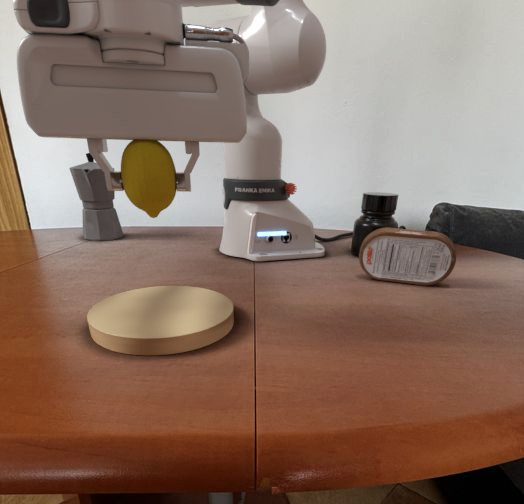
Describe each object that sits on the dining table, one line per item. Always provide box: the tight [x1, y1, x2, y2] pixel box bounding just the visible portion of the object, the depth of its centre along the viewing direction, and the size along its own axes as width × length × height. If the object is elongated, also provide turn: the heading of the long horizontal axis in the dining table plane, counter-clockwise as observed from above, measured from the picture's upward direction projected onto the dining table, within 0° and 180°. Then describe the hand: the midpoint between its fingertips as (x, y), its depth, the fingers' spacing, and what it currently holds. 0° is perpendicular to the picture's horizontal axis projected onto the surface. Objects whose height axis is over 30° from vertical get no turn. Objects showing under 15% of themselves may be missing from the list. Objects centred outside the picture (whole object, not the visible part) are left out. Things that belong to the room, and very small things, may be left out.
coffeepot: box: [69, 152, 125, 242], centre depth 88 cm, size 15×9×18 cm, turn 12°
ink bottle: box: [350, 191, 399, 257], centre depth 78 cm, size 10×9×12 cm
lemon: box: [120, 139, 178, 219], centre depth 39 cm, size 6×6×8 cm
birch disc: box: [86, 285, 235, 356], centre depth 46 cm, size 17×17×2 cm
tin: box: [358, 227, 457, 287], centre depth 61 cm, size 15×3×8 cm, turn 71°
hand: (150, 190), depth 39 cm, fingers closed on lemon, 5 cm apart
